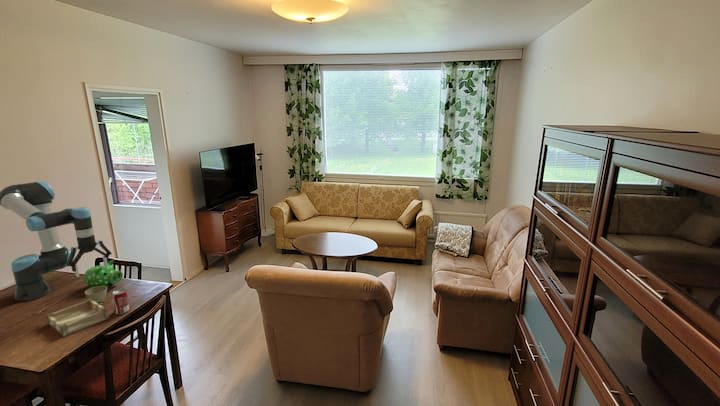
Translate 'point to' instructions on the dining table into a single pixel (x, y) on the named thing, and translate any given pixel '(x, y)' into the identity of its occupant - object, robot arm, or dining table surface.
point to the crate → (77, 317)
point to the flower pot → (96, 293)
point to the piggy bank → (102, 275)
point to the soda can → (120, 301)
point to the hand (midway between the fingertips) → (92, 271)
